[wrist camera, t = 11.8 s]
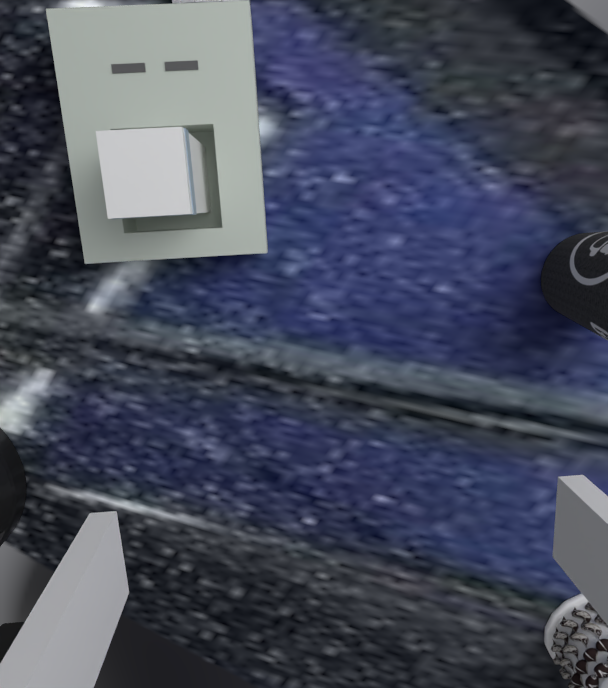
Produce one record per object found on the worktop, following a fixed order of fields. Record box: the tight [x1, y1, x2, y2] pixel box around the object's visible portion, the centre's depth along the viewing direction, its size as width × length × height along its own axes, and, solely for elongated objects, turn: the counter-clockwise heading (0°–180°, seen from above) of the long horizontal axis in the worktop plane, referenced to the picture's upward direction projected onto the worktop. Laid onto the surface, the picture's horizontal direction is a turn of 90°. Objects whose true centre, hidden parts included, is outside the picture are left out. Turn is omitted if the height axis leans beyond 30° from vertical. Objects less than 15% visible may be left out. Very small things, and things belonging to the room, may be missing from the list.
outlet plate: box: [46, 1, 268, 264], centre depth 36 cm, size 15×12×4 cm
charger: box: [96, 127, 211, 219], centre depth 34 cm, size 4×4×10 cm
